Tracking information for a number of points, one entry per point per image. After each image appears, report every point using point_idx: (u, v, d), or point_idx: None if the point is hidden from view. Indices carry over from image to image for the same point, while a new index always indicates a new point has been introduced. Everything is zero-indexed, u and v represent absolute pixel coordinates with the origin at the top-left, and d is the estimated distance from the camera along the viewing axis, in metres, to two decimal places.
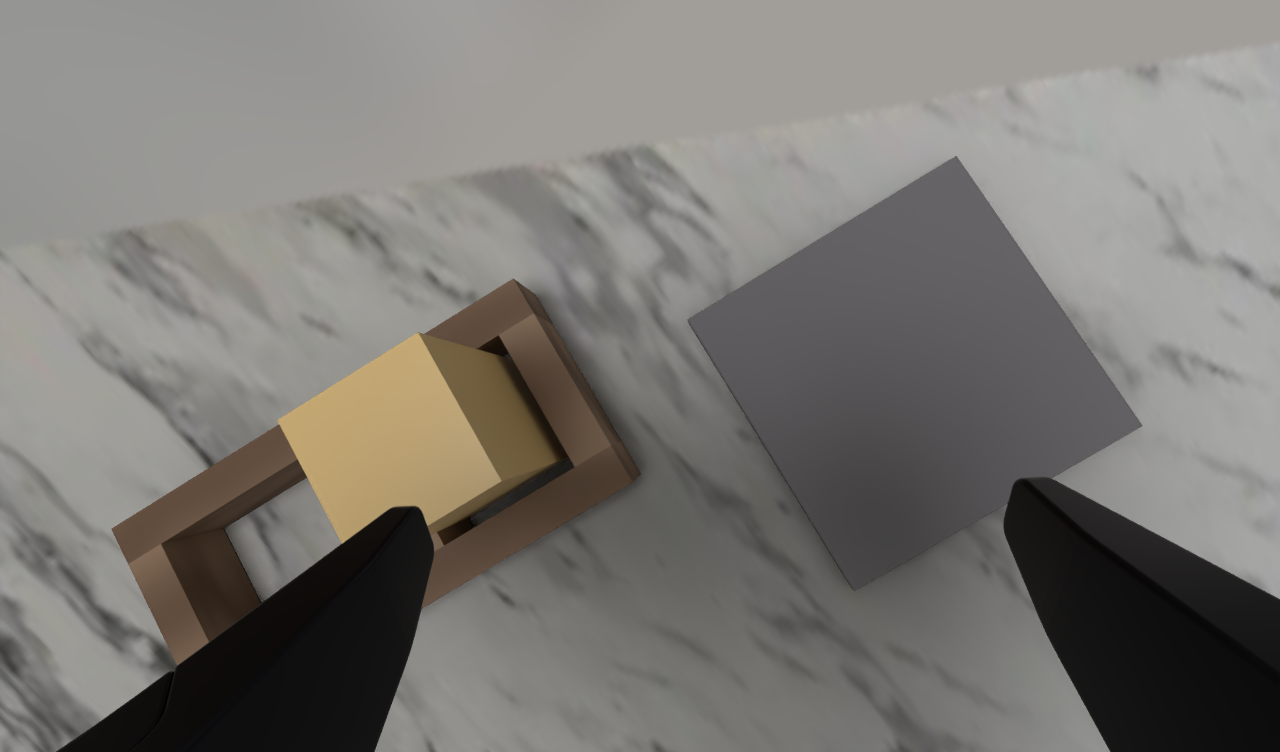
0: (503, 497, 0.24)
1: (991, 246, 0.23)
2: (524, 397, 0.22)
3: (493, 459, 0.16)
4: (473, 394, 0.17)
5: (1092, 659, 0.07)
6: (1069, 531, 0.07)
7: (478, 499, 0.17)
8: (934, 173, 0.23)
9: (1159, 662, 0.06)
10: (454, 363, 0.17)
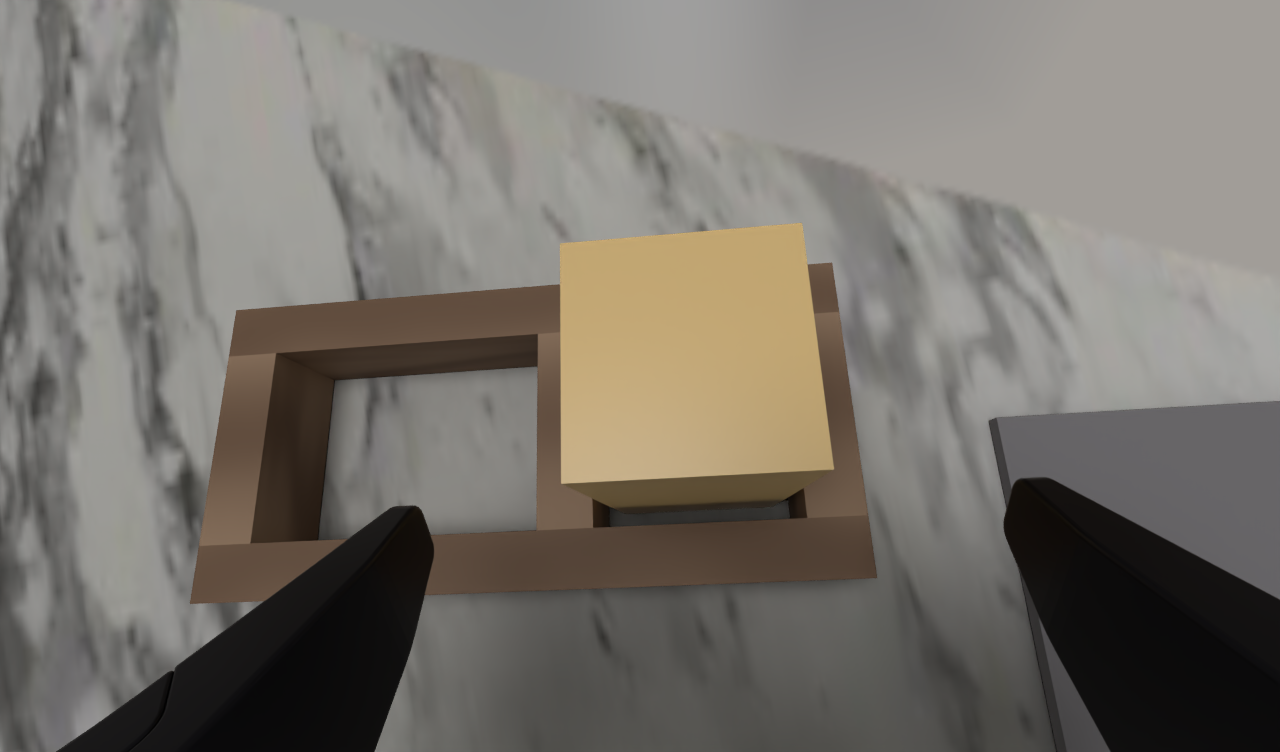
0: (665, 511, 0.18)
1: None
2: None
3: (825, 434, 0.10)
4: None
5: (1092, 659, 0.07)
6: (1069, 531, 0.07)
7: (742, 483, 0.11)
8: None
9: (1159, 662, 0.06)
10: None
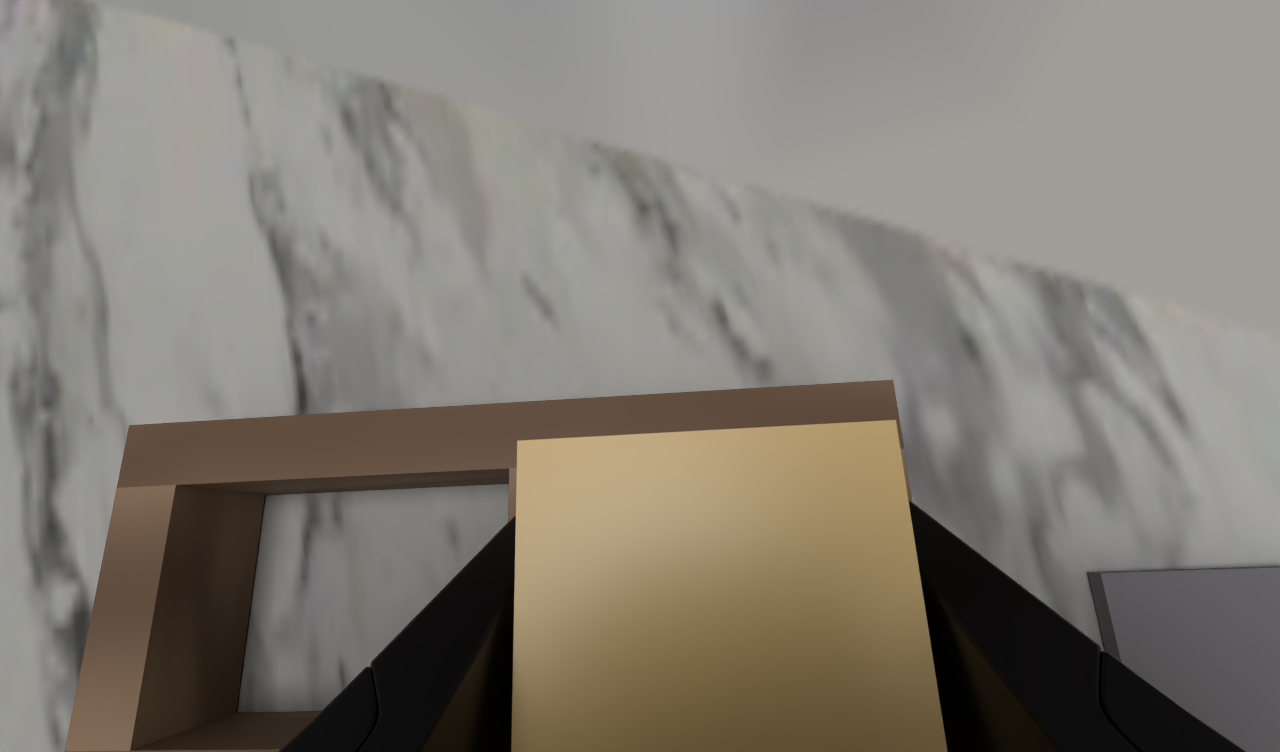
0: None
1: None
2: None
3: None
4: None
5: None
6: None
7: None
8: None
9: (942, 666, 0.06)
10: None
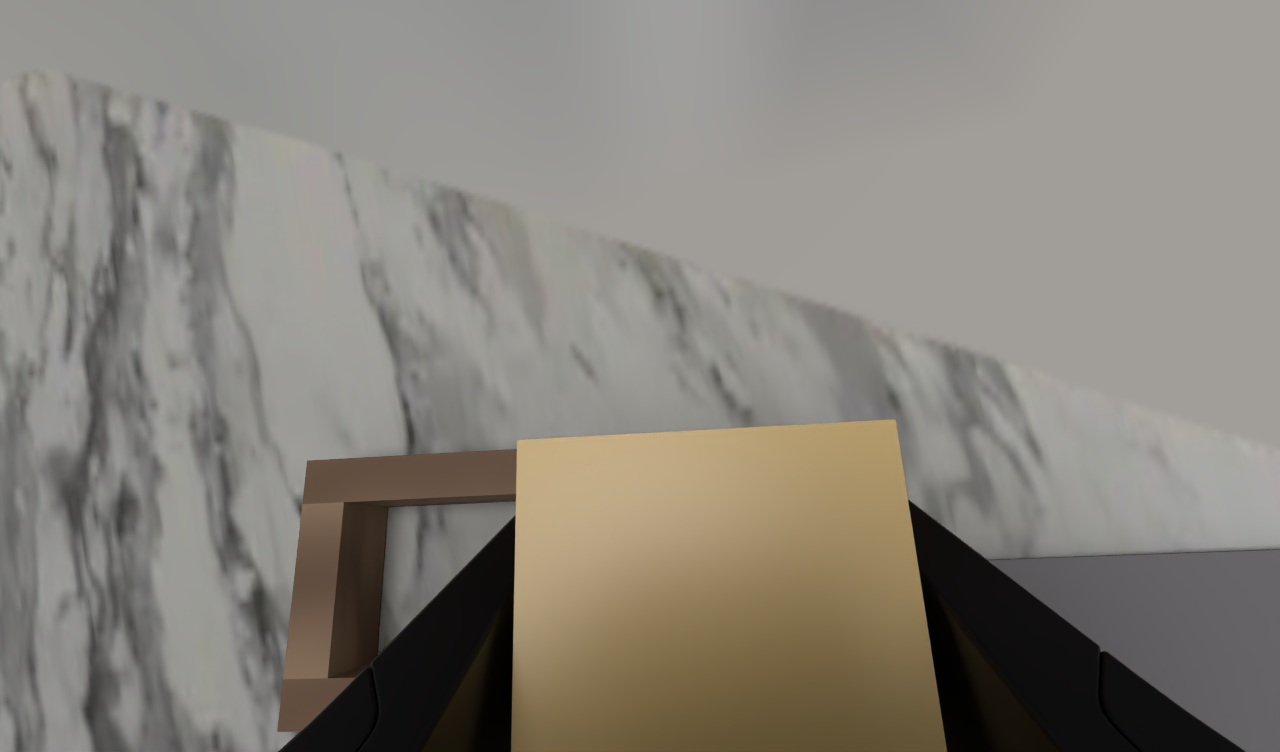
0: None
1: None
2: None
3: None
4: None
5: None
6: None
7: None
8: None
9: (942, 666, 0.06)
10: None
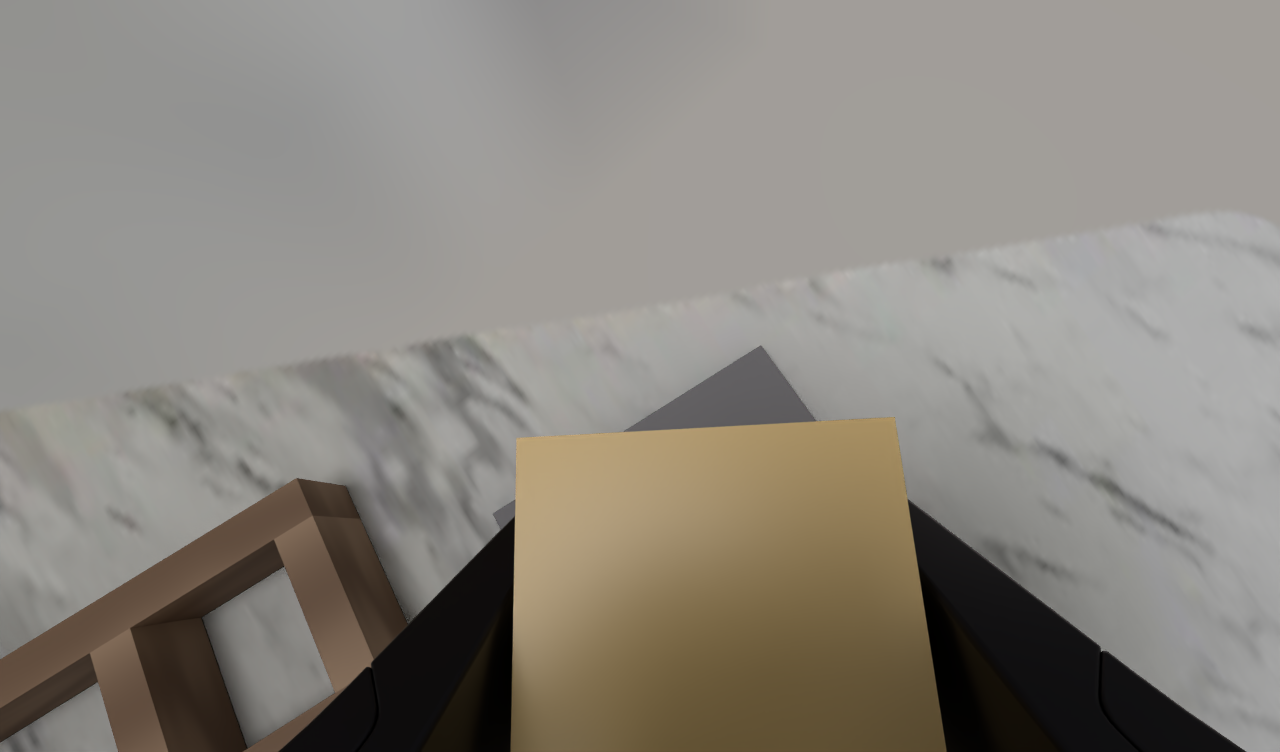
0: None
1: None
2: None
3: None
4: None
5: None
6: None
7: None
8: (739, 362, 0.23)
9: (942, 666, 0.06)
10: None
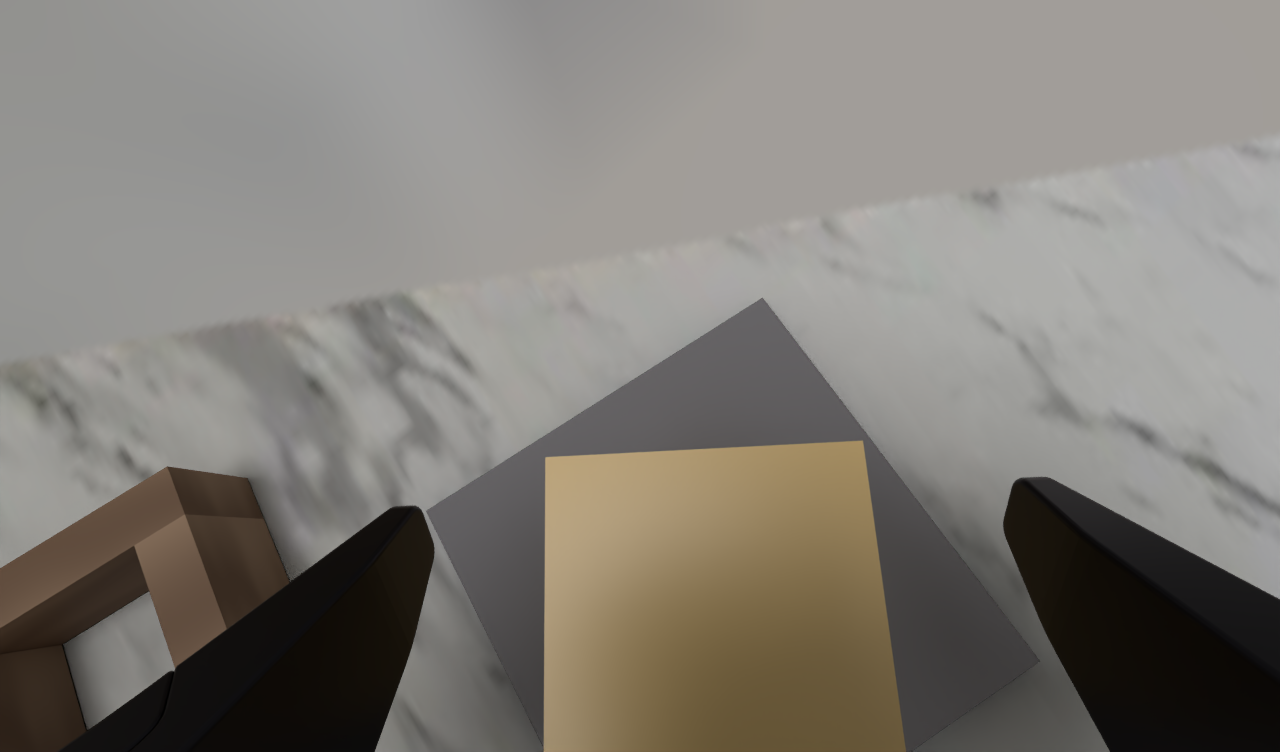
0: None
1: (812, 408, 0.18)
2: None
3: (899, 749, 0.08)
4: None
5: (1092, 659, 0.07)
6: (1069, 531, 0.07)
7: None
8: (736, 319, 0.19)
9: (1159, 662, 0.06)
10: None
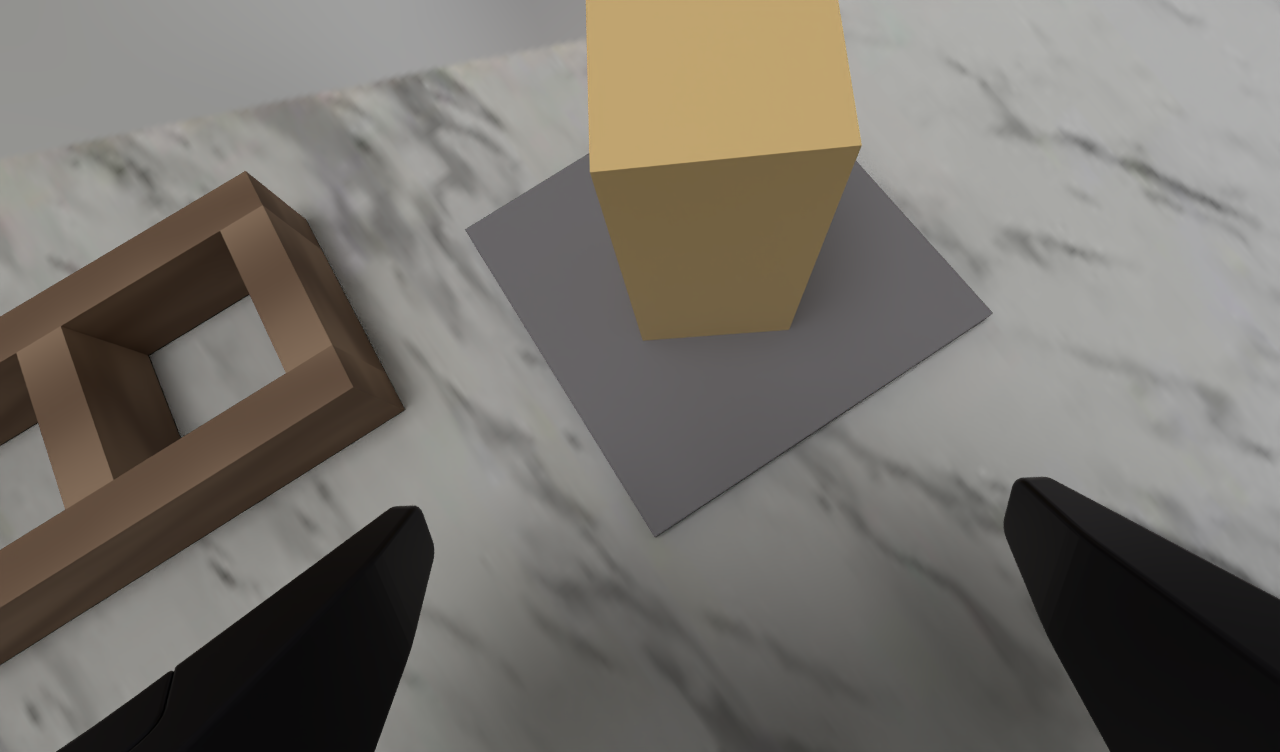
0: (683, 334, 0.19)
1: None
2: None
3: (853, 123, 0.10)
4: None
5: (1092, 659, 0.07)
6: (1069, 531, 0.07)
7: (767, 203, 0.11)
8: None
9: (1159, 662, 0.06)
10: None
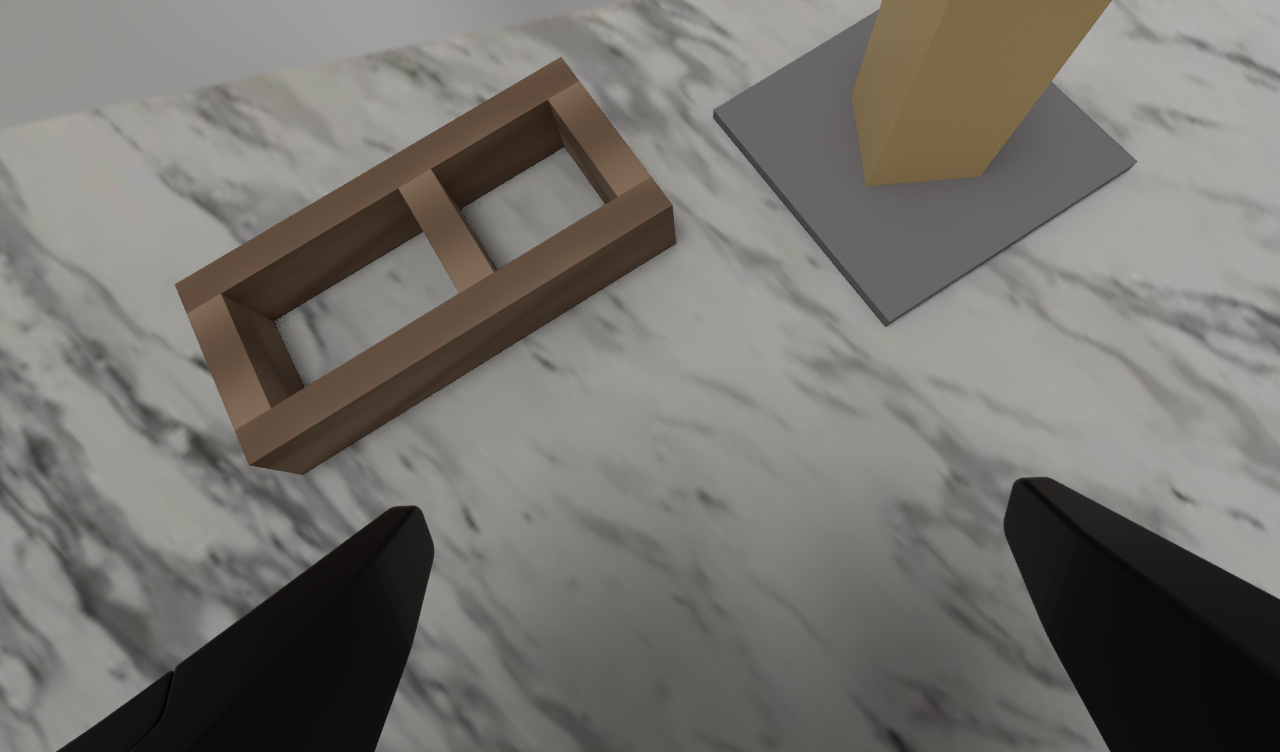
0: (899, 179, 0.24)
1: None
2: None
3: None
4: None
5: (1092, 659, 0.07)
6: (1069, 531, 0.07)
7: (1043, 29, 0.17)
8: None
9: (1159, 662, 0.06)
10: None
